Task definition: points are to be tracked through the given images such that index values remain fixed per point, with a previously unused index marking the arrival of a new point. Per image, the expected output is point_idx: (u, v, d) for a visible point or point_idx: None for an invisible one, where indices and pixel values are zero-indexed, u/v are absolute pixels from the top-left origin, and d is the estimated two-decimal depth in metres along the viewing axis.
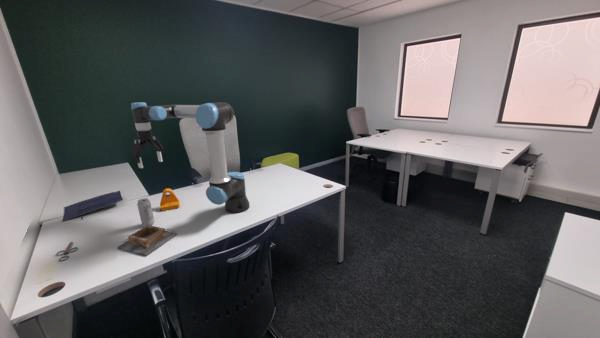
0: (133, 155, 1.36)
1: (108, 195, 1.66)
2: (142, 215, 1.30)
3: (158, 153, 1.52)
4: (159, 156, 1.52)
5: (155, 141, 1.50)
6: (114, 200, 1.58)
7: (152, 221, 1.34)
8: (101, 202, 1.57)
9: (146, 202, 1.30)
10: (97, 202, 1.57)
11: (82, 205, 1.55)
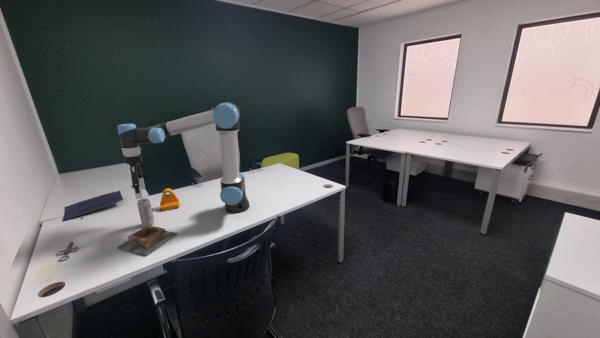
0: None
1: (108, 195, 1.66)
2: (142, 215, 1.30)
3: None
4: None
5: None
6: (114, 200, 1.58)
7: (152, 221, 1.34)
8: (101, 202, 1.57)
9: (146, 202, 1.30)
10: (97, 202, 1.57)
11: (82, 205, 1.55)
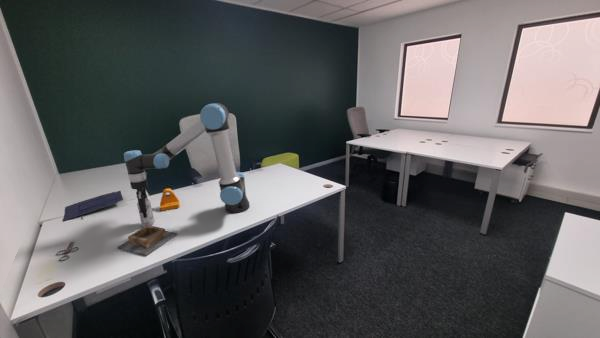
0: None
1: (109, 195, 1.66)
2: None
3: None
4: None
5: None
6: (115, 200, 1.58)
7: (152, 221, 1.34)
8: (102, 202, 1.57)
9: (146, 202, 1.30)
10: (98, 202, 1.57)
11: (83, 205, 1.55)
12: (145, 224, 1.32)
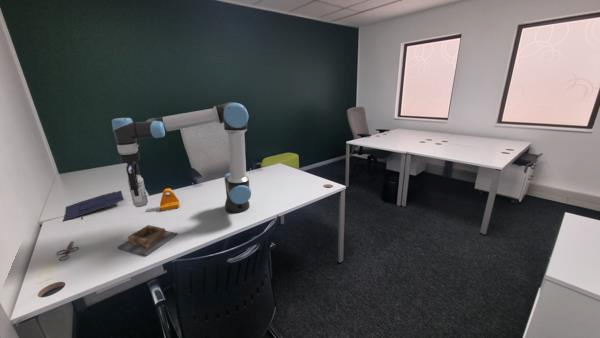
0: None
1: (109, 195, 1.66)
2: None
3: None
4: None
5: None
6: (115, 200, 1.58)
7: (145, 201, 1.18)
8: (102, 202, 1.57)
9: (138, 178, 1.14)
10: (98, 202, 1.57)
11: (83, 205, 1.55)
12: (137, 204, 1.16)
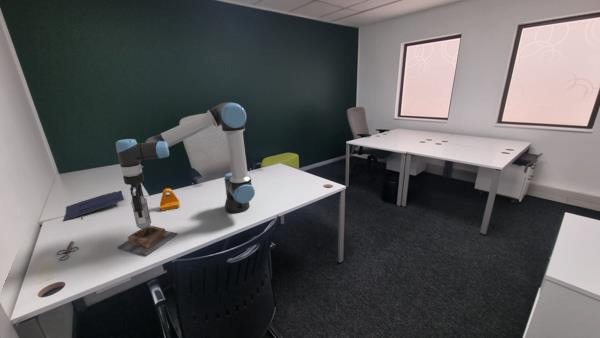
0: None
1: (110, 195, 1.66)
2: None
3: None
4: None
5: None
6: (115, 200, 1.58)
7: (148, 222, 1.16)
8: (102, 202, 1.57)
9: (142, 200, 1.12)
10: (99, 202, 1.57)
11: (84, 205, 1.55)
12: (140, 225, 1.14)
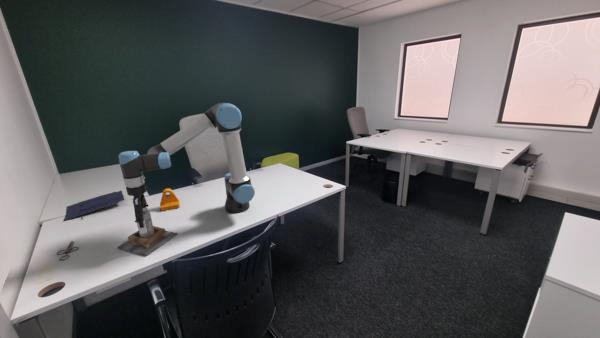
0: None
1: (110, 195, 1.66)
2: None
3: None
4: None
5: None
6: (116, 200, 1.58)
7: None
8: (103, 202, 1.57)
9: (146, 215, 1.14)
10: (99, 202, 1.57)
11: (84, 205, 1.55)
12: None
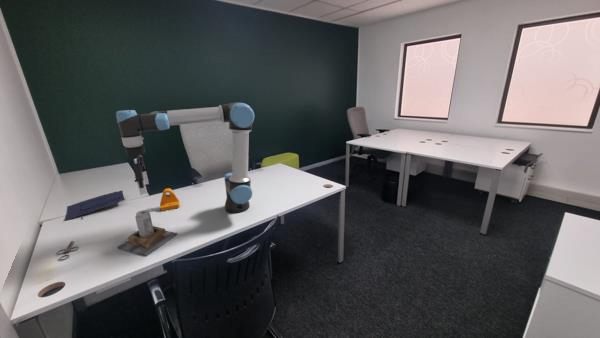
0: None
1: (111, 195, 1.66)
2: (141, 230, 1.15)
3: None
4: None
5: None
6: (116, 200, 1.58)
7: None
8: (103, 201, 1.57)
9: (145, 215, 1.14)
10: (99, 202, 1.57)
11: (85, 204, 1.55)
12: None
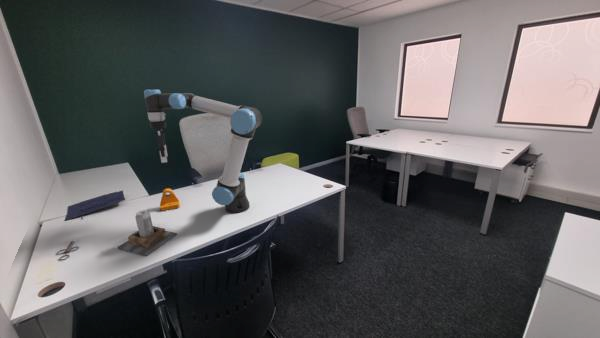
0: None
1: (111, 195, 1.66)
2: (141, 230, 1.15)
3: None
4: None
5: None
6: (116, 200, 1.58)
7: None
8: (104, 201, 1.57)
9: (145, 215, 1.14)
10: (100, 202, 1.57)
11: (85, 204, 1.56)
12: None
